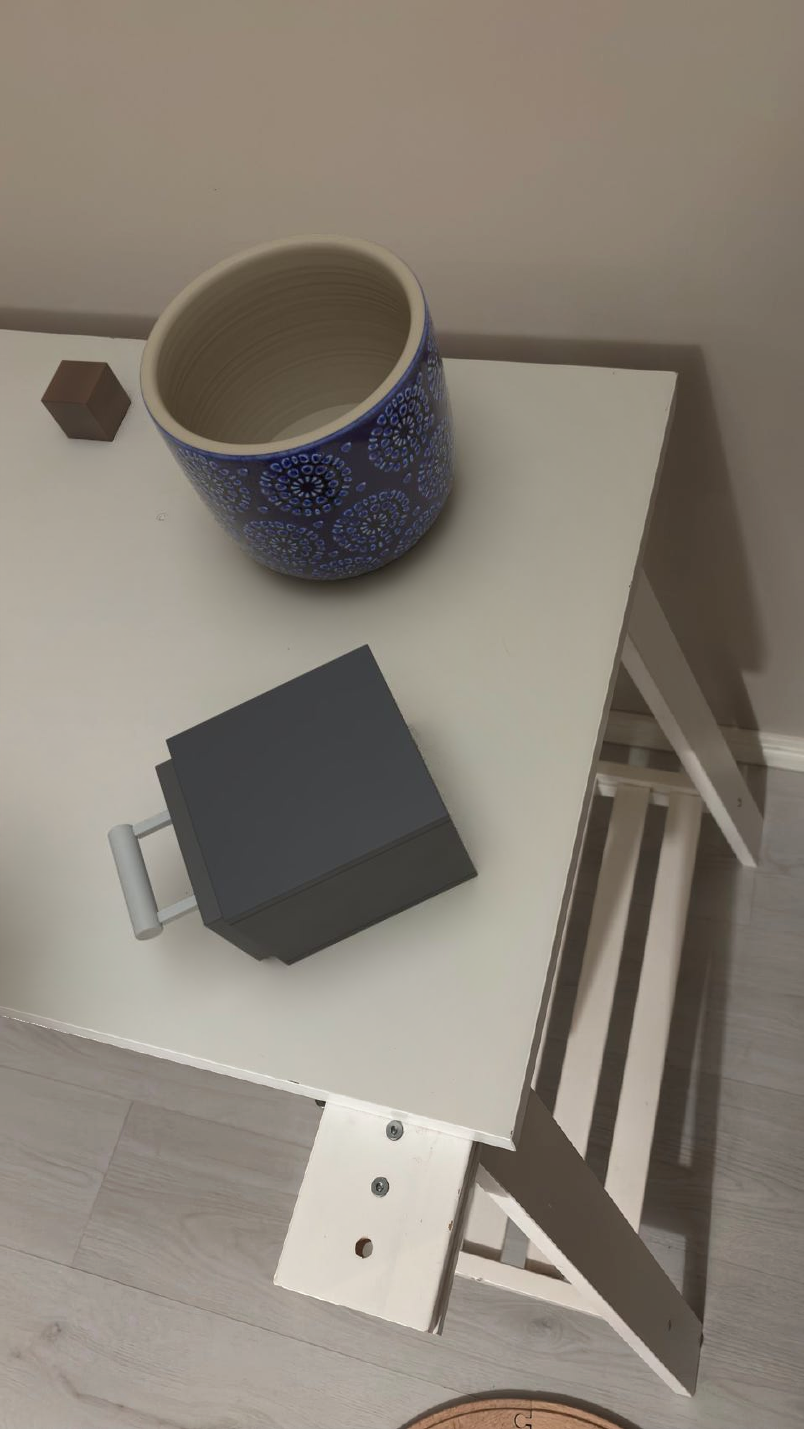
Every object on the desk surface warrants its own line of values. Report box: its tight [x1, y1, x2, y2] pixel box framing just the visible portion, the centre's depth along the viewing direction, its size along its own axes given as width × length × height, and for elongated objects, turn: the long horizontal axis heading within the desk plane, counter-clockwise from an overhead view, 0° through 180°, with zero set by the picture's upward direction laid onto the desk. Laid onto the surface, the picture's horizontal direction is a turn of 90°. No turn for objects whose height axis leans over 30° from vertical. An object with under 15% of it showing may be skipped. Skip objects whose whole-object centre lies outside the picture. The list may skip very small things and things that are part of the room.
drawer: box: [107, 758, 273, 962], centre depth 52 cm, size 14×9×8 cm, turn 113°
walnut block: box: [40, 359, 132, 442], centre depth 74 cm, size 4×4×4 cm
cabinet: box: [165, 643, 479, 966], centre depth 52 cm, size 11×10×9 cm
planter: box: [139, 232, 457, 581], centre depth 60 cm, size 16×17×15 cm
